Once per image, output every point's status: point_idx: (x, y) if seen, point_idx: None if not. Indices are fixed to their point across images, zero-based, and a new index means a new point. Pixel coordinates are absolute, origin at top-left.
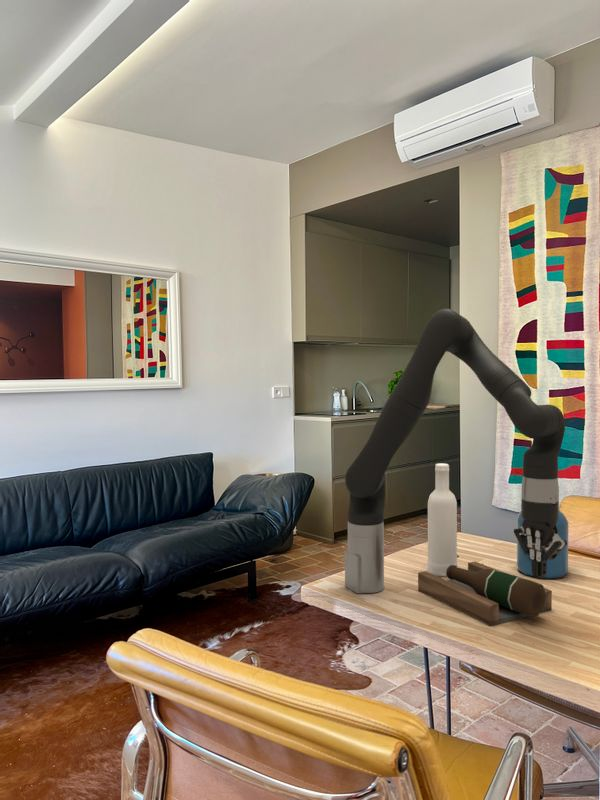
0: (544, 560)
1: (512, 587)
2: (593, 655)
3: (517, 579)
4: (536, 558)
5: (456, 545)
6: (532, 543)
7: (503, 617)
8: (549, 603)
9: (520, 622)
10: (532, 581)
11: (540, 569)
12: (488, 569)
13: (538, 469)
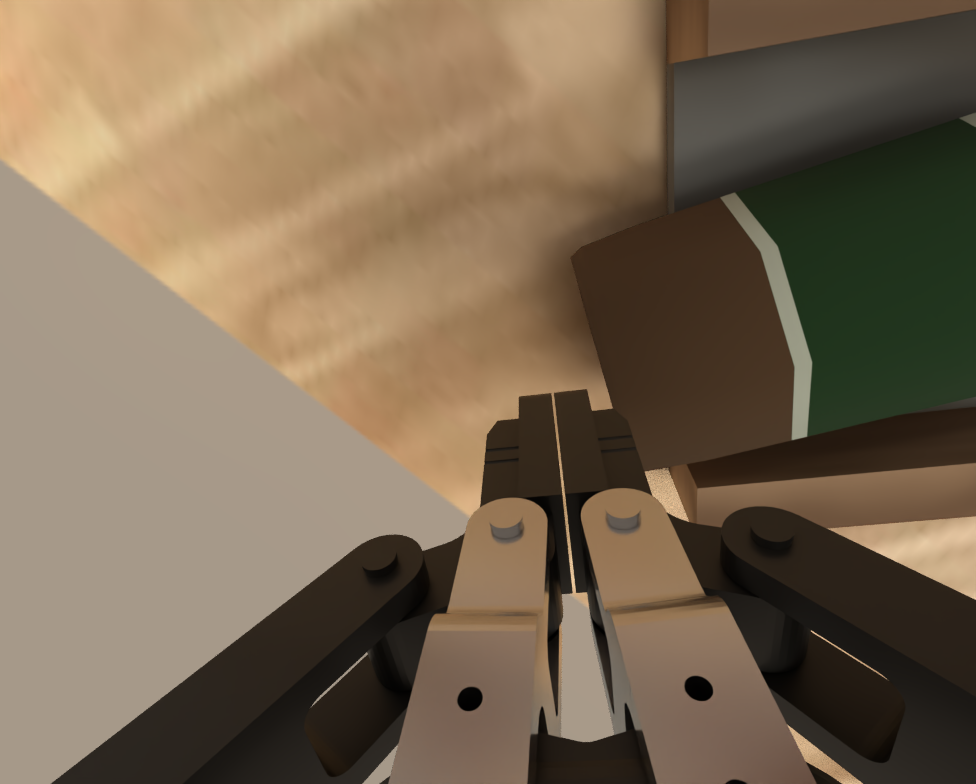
0: (396, 536)
1: (748, 252)
2: (178, 294)
3: (786, 347)
4: (539, 517)
5: None
6: (630, 705)
7: (682, 121)
8: (677, 479)
9: (620, 220)
10: (700, 436)
11: (505, 460)
12: None
13: None
